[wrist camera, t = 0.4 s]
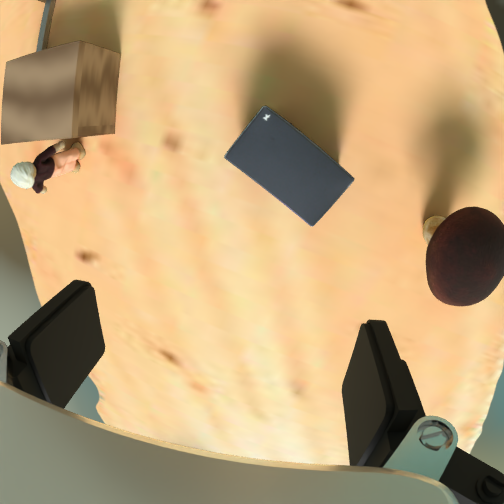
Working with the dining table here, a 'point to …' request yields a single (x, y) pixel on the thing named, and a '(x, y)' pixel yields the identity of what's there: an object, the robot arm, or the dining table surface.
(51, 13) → the grey long piece
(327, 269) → the dining table surface
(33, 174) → the grandmother figurine
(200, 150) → the dining table surface
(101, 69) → the cubby
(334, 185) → the small box
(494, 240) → the decorative mushroom
